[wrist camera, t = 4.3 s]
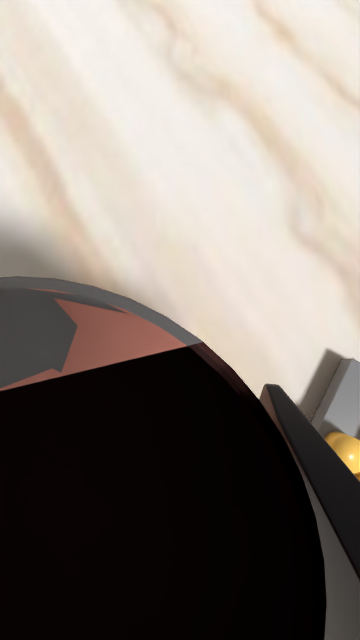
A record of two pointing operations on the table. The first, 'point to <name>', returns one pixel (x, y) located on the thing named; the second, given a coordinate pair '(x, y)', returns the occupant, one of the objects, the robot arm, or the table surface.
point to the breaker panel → (342, 414)
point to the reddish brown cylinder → (142, 482)
